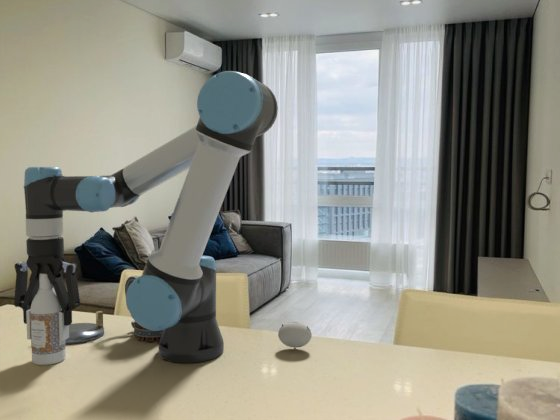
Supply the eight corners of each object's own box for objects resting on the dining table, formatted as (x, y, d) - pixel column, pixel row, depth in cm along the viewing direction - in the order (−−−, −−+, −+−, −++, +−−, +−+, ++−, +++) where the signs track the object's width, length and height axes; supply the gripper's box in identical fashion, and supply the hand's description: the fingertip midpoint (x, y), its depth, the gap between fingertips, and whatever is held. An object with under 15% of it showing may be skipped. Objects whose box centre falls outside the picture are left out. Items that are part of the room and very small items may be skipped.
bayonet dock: (113, 328, 142) (113, 309, 141) (87, 346, 128) (87, 325, 128) (64, 326, 144) (64, 307, 143) (34, 343, 130) (33, 322, 129)
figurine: (312, 346, 129) (312, 319, 128) (310, 355, 123) (310, 327, 122) (280, 344, 130) (280, 317, 129) (276, 353, 124) (276, 325, 123)
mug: (184, 334, 138) (184, 277, 136) (154, 345, 129) (154, 285, 127) (142, 324, 146) (141, 270, 145) (111, 334, 137) (110, 277, 136)
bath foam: (24, 363, 116) (21, 274, 115) (47, 353, 123) (44, 268, 121) (50, 367, 114) (47, 276, 113) (72, 356, 121) (69, 270, 119)
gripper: (95, 235, 119) (98, 335, 121) (14, 233, 121) (17, 331, 123) (78, 240, 111) (81, 346, 113) (-8, 238, 114) (-4, 341, 116)
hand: (48, 338), depth 118 cm, fingers closed on bath foam, 7 cm apart
